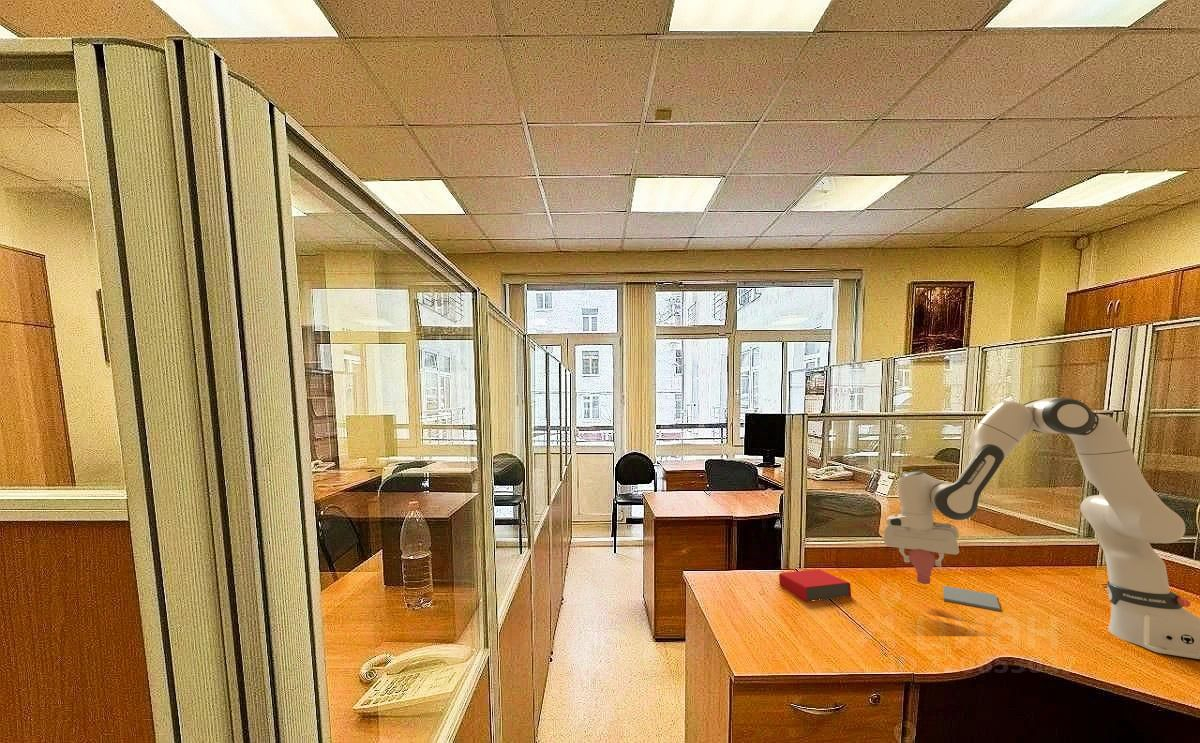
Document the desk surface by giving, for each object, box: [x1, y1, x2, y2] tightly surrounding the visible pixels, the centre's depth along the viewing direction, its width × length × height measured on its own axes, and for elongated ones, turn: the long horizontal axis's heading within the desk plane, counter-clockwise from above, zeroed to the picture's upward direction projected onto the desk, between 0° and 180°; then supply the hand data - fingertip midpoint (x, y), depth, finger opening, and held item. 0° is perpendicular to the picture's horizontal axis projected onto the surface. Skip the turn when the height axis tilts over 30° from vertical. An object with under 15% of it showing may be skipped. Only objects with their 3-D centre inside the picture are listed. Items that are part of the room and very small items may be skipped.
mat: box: [942, 585, 1001, 612], centre depth 147 cm, size 14×14×1 cm
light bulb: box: [908, 549, 936, 585], centre depth 145 cm, size 7×7×12 cm
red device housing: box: [778, 569, 852, 603], centre depth 155 cm, size 18×14×5 cm
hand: (922, 563), depth 145 cm, fingers closed on light bulb, 7 cm apart
